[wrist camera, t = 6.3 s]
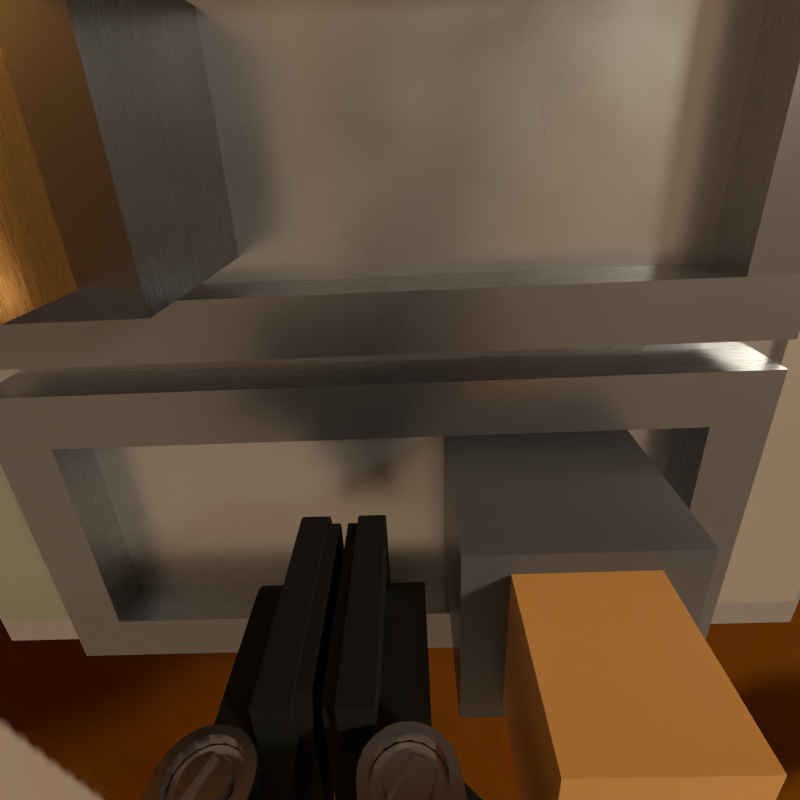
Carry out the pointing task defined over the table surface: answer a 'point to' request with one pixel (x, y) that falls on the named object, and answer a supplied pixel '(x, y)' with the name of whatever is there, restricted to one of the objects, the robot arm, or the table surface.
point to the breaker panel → (380, 285)
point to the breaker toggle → (591, 623)
